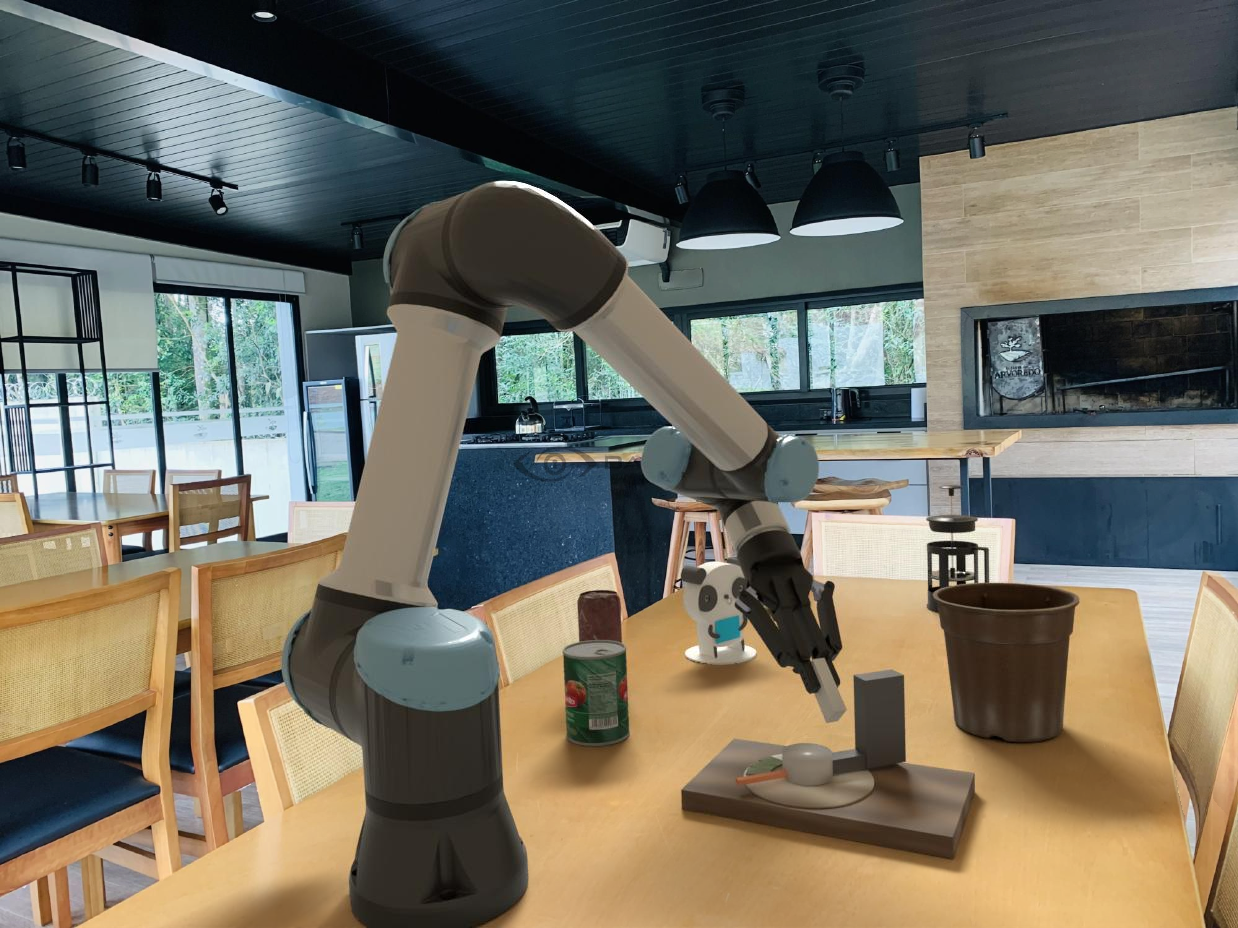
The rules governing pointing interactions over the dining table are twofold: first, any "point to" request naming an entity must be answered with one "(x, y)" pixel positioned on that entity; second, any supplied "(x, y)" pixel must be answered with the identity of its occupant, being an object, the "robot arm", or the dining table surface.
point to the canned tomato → (596, 692)
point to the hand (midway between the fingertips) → (836, 716)
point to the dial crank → (874, 736)
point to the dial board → (839, 800)
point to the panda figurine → (716, 612)
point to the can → (599, 616)
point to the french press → (952, 551)
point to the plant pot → (1007, 657)
